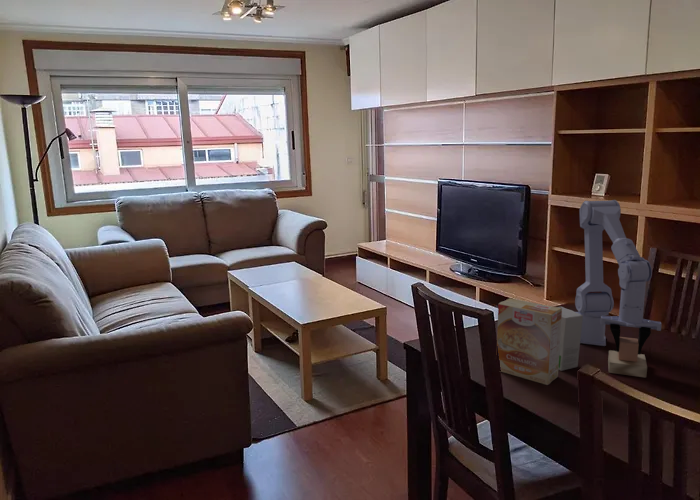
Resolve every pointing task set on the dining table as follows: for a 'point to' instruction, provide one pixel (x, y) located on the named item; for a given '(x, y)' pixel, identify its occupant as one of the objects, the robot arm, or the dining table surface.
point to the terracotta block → (628, 349)
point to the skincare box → (569, 339)
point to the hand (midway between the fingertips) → (627, 351)
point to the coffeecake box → (529, 340)
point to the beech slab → (627, 365)
